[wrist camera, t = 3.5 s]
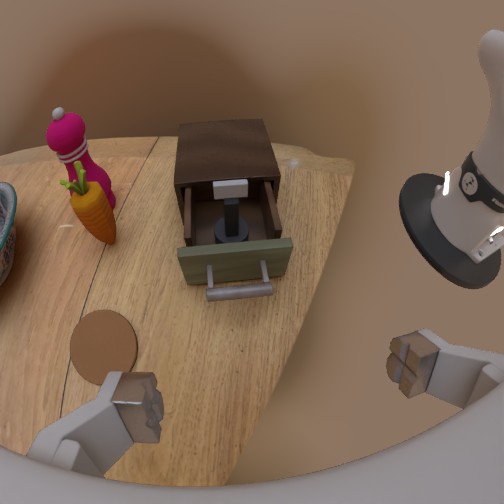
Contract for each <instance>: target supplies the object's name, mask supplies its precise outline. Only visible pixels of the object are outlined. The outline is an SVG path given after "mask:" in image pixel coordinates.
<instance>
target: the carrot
mask: <svg viewBox="0 0 504 504" xmlns="http://www.w3.org/2000/svg"><path fill="white" fill-rule="evenodd" d="M74 166H75V169H76V172H77V174H78V179H79V183H80V185H79V183H78V182H77V181H76V180H73V183H74V184H75V185H74V184H73V183H70V182H68V181H65V180H60V184H62V185H65V186H66V188H67V189H69V190H72V191H74V193H73V194H72V196H71V198H70V203H71V205H72V207H73V209H74V212H75V213H76V215H77V216H78V218H79V219H80V221H81V222H82V224H83V225H84V226H85V228H86V229H87V230H88V231H89V232H90V233H91V234H92V235H93V236H94V237H96V238H97V239H98V240H100V241H102V242H105V243H108V244H112V243H114V241H115V237H116V223H115V219H114V215H113V211H112V209H111V206H110V204H109V201H108V199H107V197H106V194H105V192H104V191H103V189H102V187H101V186H100V184H99V183H98V182H86V171H85V170H84V169H83V167H82V164H81V161H76V162H74Z"/></svg>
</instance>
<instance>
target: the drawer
mask: <svg viewBox="0 0 504 504" xmlns="http://www.w3.org/2000/svg"><path fill="white" fill-rule="evenodd" d="M238 199H239V217H241V218H242V219H244V220H245V221H246V222H247V224H248V226H249V238H248V241H246V242H235V243H224V244H216V243H215V236H214V226H215V224H216V223H217V221H218V220H220V219H221V218H223V217H224V206H223V199H214V190H213V184H212V185H201V186H191V187H185V209H184V239H185V243H186V247H181V248H178V251H177V257H178V260H179V263H180V266H181V269H182V271H183V274H184V277H185V280H186V282H187V285H193V284H204V283H208V289H206V295H207V301H208V302H211V301H222V300H232V299H242V298H251V297H260V296H269V295H273V286H272V283H271V282H269V278H268V277H275V276H284V275H285V272H286V268H287V265H288V262H289V259H290V255H291V252H292V249H293V244H292V240H291V238H281V239H280V237H281V233H282V227H281V223H280V219H279V215H278V211H277V207H276V203H275V199H274V195H273V191H272V187H271V183H270V181H252V182H248V196H247V197H238ZM256 278H262V279H263V283H259V284H250V285H240V286H230V287H220V288H214V283H215V282H226V281H236V280H246V279H256Z"/></svg>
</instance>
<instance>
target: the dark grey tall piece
mask: <svg viewBox="0 0 504 504" xmlns="http://www.w3.org/2000/svg"><path fill="white" fill-rule="evenodd" d="M213 190H214V199H223V206H224V217H223V218H221V219H220V220H218V221H217V223H216V224H215V226H214V236H215V243H216V244H224V243H235V242H246V241H248V238H249V226H248V224H247V222H246V221H245V220H244V219H242V218H241V217H239V199H238V197H247V196H248V181H247V179H241V180H227V181H215V182H213Z"/></svg>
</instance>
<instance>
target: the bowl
mask: <svg viewBox="0 0 504 504" xmlns="http://www.w3.org/2000/svg"><path fill="white" fill-rule="evenodd" d="M16 206H17V196H16V192H15V189H14V188H13V186H12V185H10V184H9V183H6V182H0V286H1V285H2V284H3V282H4V281H5V280H6V278H7V276H8V274H9V272H10V270H11V267H12V264H13V259H14V248H15V242H16V229H15V223H14V216H15V212H16Z"/></svg>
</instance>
